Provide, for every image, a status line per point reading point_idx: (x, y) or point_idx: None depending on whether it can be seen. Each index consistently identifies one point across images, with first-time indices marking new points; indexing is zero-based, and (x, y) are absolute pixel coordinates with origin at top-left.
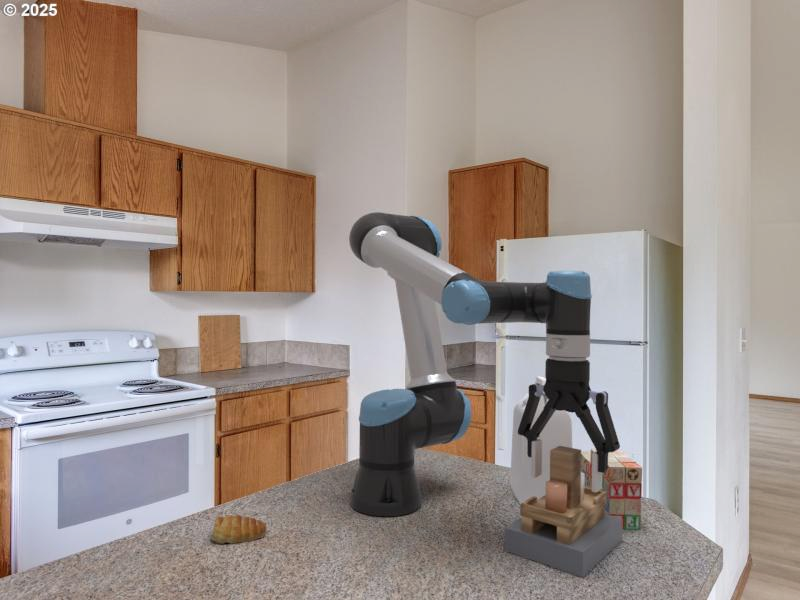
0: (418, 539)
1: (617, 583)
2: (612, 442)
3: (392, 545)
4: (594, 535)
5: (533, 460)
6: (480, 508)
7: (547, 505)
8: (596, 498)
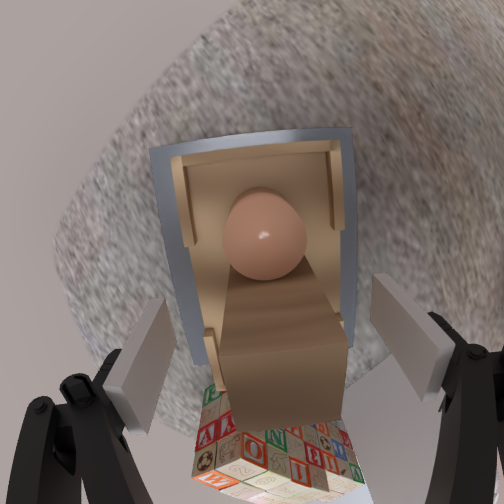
0: (455, 75)
1: (116, 181)
2: (23, 425)
3: (458, 37)
4: (180, 248)
5: (406, 301)
6: (455, 268)
7: (273, 191)
8: (207, 342)
